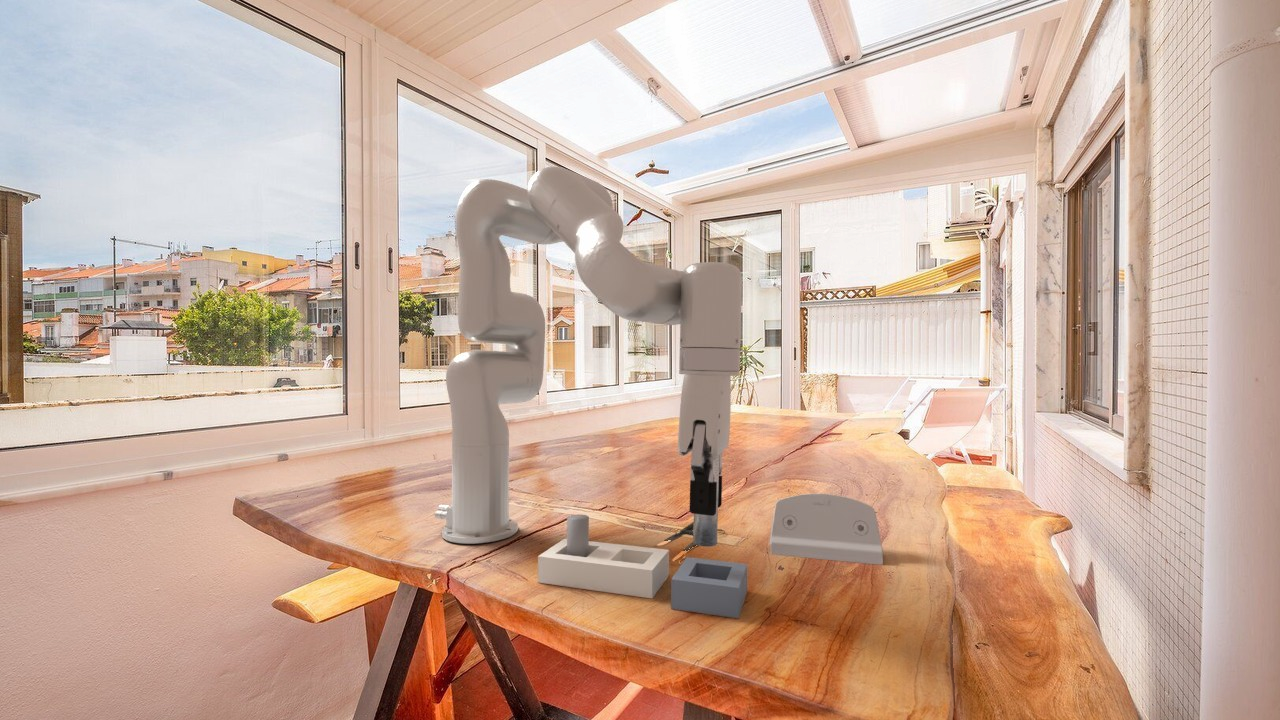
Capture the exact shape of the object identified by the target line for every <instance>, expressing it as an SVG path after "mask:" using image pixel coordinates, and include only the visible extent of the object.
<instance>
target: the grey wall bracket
mask: <svg viewBox="0 0 1280 720" xmlns="http://www.w3.org/2000/svg"><path fill="white" fill-rule="evenodd" d="M774 505H775V506H774V510H773V516H772V524H771V531H770V538H769V546H770V554H771V555H773V554H776V555H775V556H783V555H787V556H786V557H793V556H794V557H796V558H807V559H814V560H815V559H816V560H827V561H836V562H846V563H847V562H848V563H855V564H856V563H857V564H858V563H860V564H868V565H869V564H870V565H878V566H884V557H883V555H884V552H883V546H882V539H881V535H880V530H879V529H880V528H879V525H878V519H877V514H876V513H877V512H876V510H875V509H874V507H873V506H871V505H870V504H868V503H865V502H862V501H859V500H857V499H854V498H851V497H847V496H843V495H837V494H833V493H832V494H830V493H829V494H828V493H802V494H796V495H792V496H791V495H790V496H787V497H783V498H779V499H778V500H777V501H776V502H775V504H774Z"/></svg>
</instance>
